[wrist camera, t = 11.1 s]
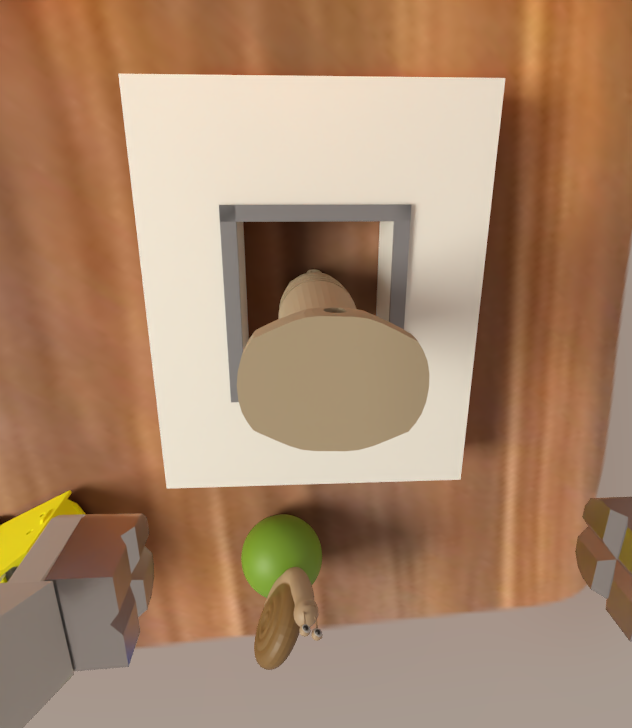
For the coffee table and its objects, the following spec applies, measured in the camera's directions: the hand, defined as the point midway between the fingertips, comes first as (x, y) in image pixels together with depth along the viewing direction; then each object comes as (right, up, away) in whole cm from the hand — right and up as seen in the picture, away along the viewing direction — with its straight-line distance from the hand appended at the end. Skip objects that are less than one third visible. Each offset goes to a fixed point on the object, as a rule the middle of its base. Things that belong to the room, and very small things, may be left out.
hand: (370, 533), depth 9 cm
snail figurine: (-3, -9, +27) cm, 29 cm away
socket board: (-1, +7, +21) cm, 23 cm away
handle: (-1, +7, +22) cm, 23 cm away
